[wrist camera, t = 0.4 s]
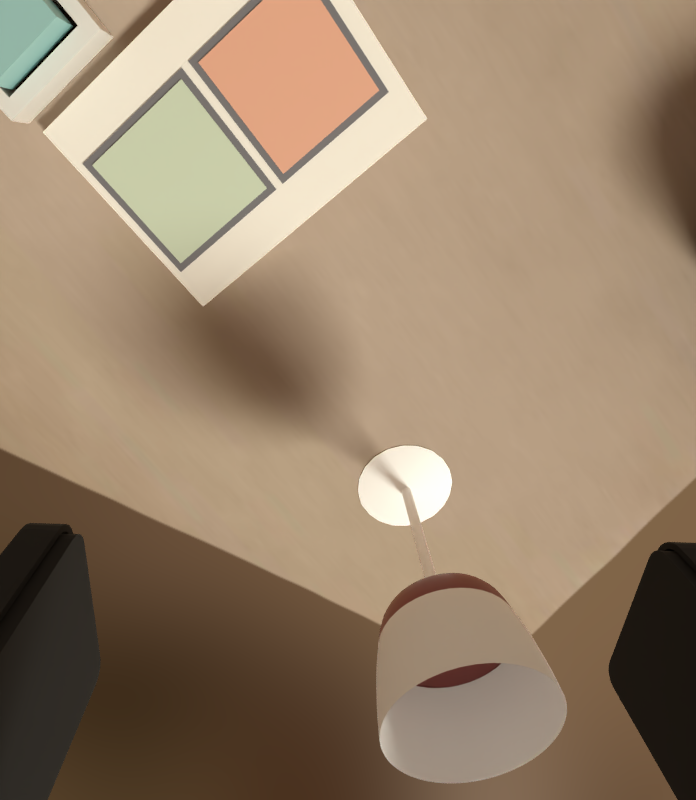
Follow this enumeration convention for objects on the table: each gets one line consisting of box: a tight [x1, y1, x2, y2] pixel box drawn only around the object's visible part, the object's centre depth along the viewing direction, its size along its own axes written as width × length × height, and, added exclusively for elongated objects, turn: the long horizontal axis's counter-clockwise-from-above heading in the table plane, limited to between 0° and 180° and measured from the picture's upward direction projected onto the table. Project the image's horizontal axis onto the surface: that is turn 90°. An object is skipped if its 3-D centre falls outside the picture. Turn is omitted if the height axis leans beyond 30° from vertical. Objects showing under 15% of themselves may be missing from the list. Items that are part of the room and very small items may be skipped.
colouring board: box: [43, 0, 427, 306], centre depth 32 cm, size 18×13×1 cm
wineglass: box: [358, 445, 567, 783], centre depth 34 cm, size 8×9×20 cm
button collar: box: [0, 0, 113, 123], centre depth 28 cm, size 7×7×2 cm
